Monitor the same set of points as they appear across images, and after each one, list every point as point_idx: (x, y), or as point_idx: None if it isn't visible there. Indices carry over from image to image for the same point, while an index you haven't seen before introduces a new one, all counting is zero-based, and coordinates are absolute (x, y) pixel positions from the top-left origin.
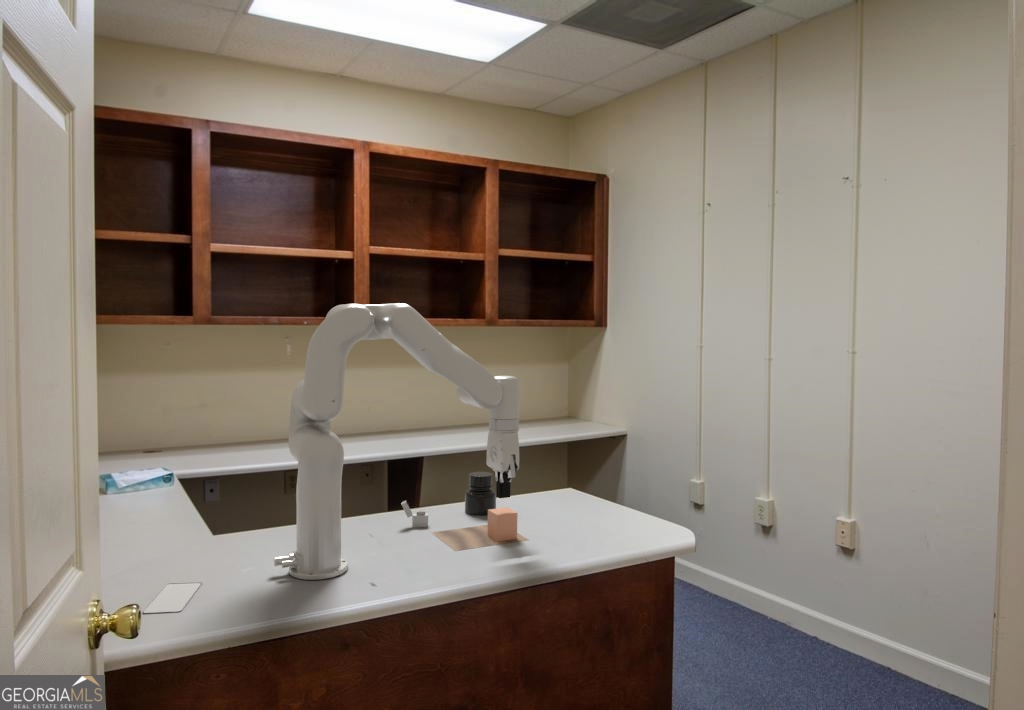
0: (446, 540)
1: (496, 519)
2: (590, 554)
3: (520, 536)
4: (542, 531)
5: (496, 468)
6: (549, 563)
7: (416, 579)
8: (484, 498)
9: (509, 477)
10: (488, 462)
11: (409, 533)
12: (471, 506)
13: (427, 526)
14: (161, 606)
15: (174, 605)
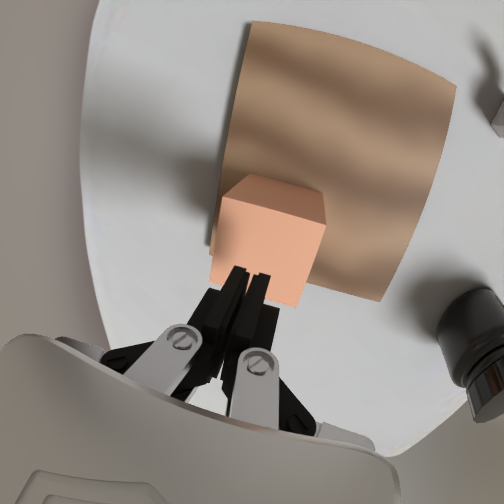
0: (362, 56)
1: (237, 193)
2: (113, 289)
3: None
4: (276, 337)
5: (98, 388)
6: (98, 195)
7: None
8: (466, 346)
9: (79, 343)
10: (334, 491)
11: (499, 79)
12: (487, 308)
13: (499, 124)
14: None
15: None
